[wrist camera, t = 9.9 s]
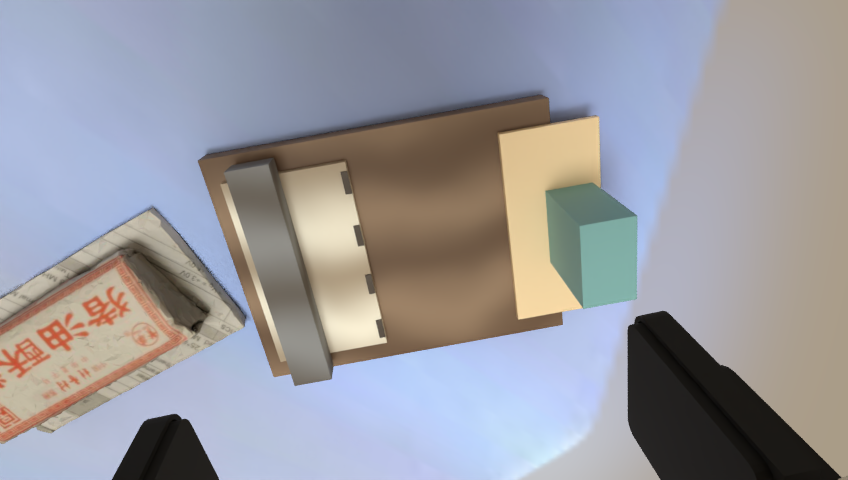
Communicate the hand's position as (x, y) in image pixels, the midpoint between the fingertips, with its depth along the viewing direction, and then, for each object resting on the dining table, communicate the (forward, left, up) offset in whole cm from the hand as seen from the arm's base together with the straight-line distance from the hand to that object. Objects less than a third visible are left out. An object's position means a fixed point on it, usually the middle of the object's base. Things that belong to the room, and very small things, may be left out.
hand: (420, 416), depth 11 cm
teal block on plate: (+6, +9, -22) cm, 24 cm away
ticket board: (+6, -1, -23) cm, 24 cm away
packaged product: (+8, -22, -24) cm, 34 cm away
